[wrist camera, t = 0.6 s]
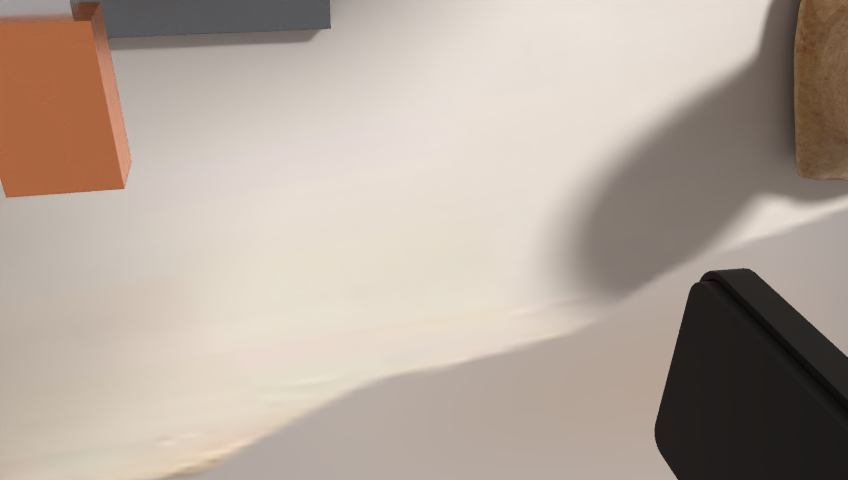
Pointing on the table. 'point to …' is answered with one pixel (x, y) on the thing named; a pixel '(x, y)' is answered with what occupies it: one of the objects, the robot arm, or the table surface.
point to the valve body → (210, 16)
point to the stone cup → (821, 89)
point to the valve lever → (58, 100)
